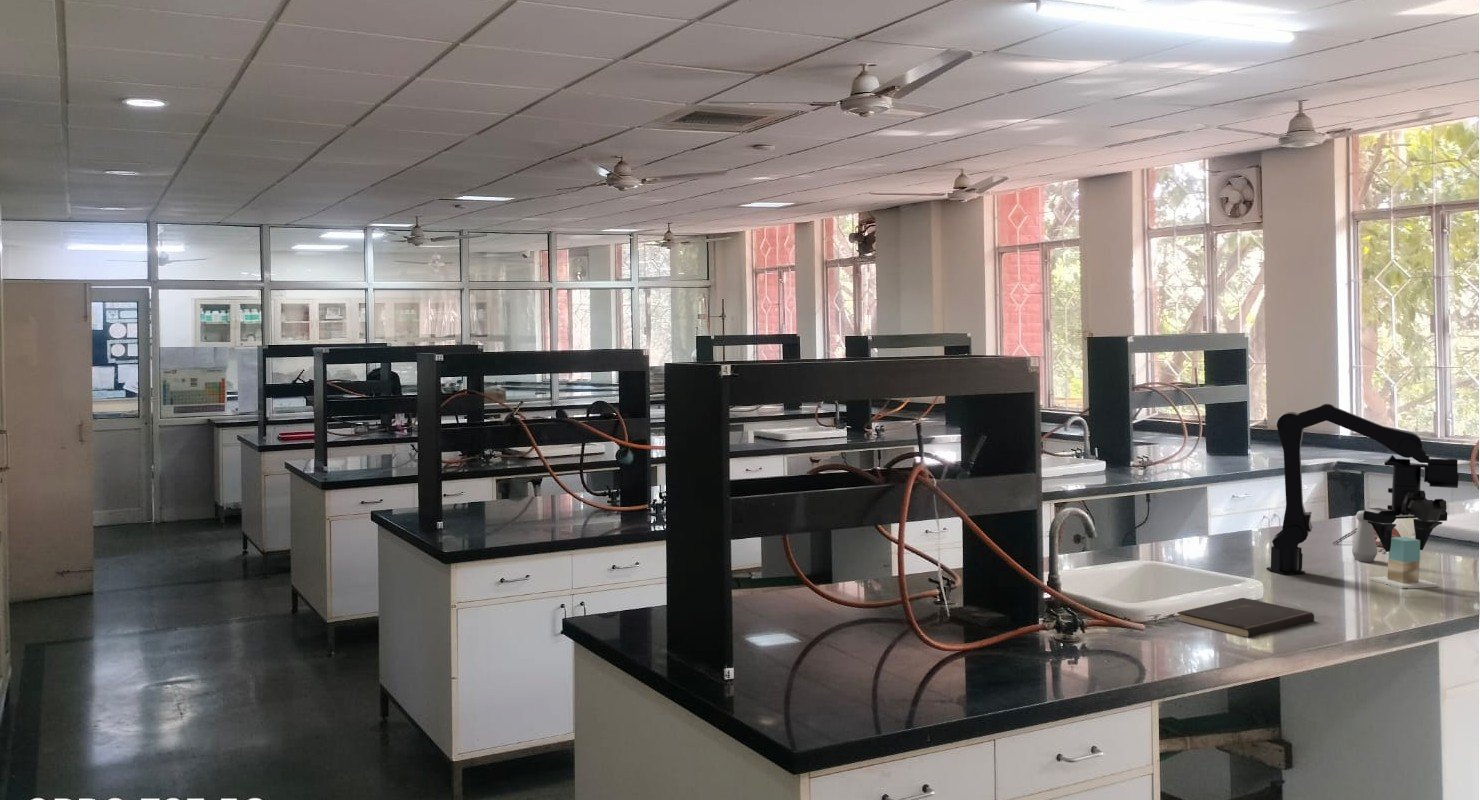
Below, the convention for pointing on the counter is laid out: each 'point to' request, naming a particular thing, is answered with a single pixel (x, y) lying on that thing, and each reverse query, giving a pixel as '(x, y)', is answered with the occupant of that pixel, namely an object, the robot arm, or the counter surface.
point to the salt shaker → (1364, 540)
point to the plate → (1403, 585)
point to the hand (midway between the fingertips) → (1404, 550)
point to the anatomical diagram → (1394, 534)
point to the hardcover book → (1246, 617)
